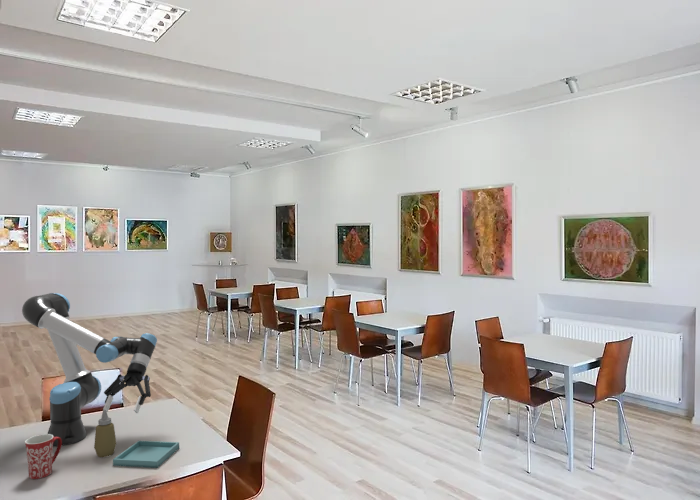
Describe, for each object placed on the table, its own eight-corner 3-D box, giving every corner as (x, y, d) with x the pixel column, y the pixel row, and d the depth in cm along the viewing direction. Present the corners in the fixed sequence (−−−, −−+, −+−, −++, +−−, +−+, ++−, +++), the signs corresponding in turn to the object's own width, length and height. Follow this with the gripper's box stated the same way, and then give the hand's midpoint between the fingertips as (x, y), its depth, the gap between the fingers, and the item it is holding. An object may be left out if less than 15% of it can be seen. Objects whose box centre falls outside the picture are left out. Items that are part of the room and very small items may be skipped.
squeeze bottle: (91, 455, 202) (90, 410, 202) (111, 448, 208) (110, 405, 208) (99, 460, 197) (97, 415, 196) (119, 454, 203) (118, 410, 202)
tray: (112, 465, 192) (112, 459, 192) (138, 446, 210) (138, 440, 210) (157, 468, 190) (156, 461, 190) (179, 448, 208) (179, 442, 208)
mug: (34, 482, 179) (33, 445, 179) (20, 477, 184) (19, 440, 183) (69, 468, 190) (68, 433, 190) (55, 463, 195) (54, 429, 195)
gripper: (167, 370, 225) (152, 416, 211) (115, 369, 228) (96, 414, 214) (161, 362, 220) (145, 408, 205) (108, 361, 223) (88, 406, 208)
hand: (120, 411), depth 210 cm, fingers open, 13 cm apart
